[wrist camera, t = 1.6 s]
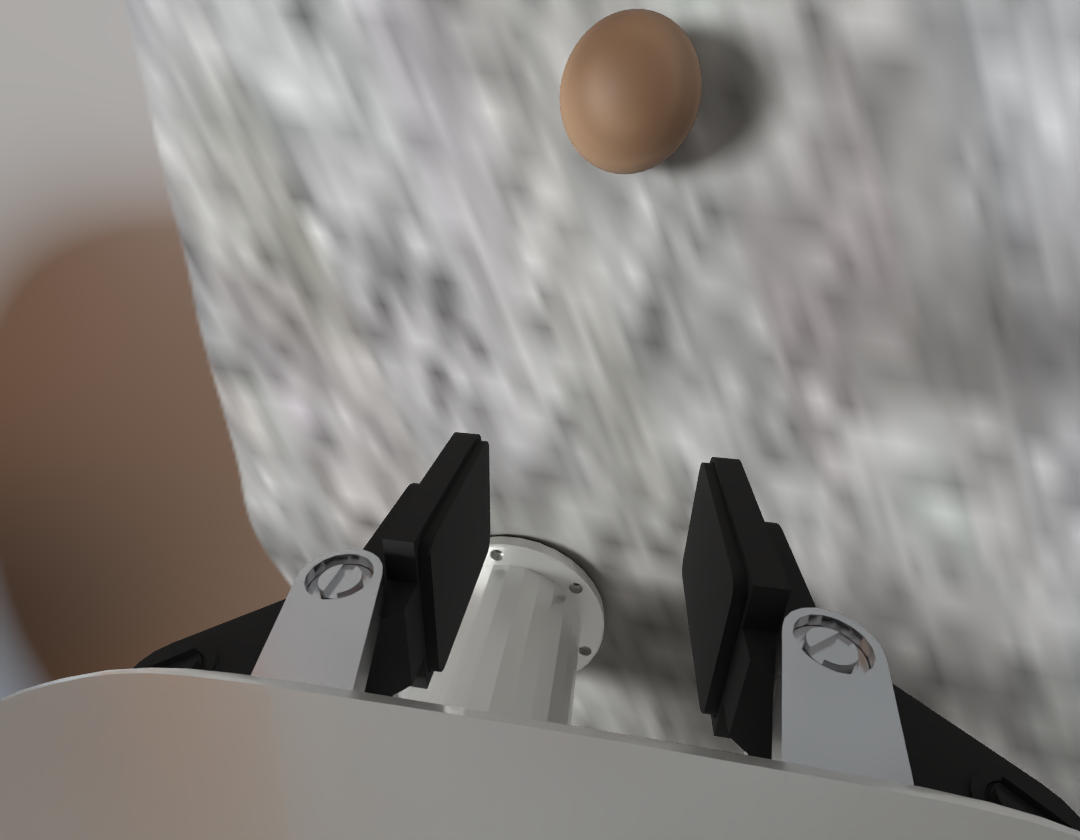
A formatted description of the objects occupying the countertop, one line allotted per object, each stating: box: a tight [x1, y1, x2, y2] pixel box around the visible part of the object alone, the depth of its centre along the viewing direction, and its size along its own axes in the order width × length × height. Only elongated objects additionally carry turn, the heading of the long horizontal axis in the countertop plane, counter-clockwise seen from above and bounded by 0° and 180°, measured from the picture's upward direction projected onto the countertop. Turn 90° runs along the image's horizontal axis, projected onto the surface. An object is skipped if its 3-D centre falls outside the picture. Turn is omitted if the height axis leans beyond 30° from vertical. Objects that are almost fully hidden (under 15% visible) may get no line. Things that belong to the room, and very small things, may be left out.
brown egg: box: [560, 9, 702, 174], centre depth 21 cm, size 6×6×6 cm
